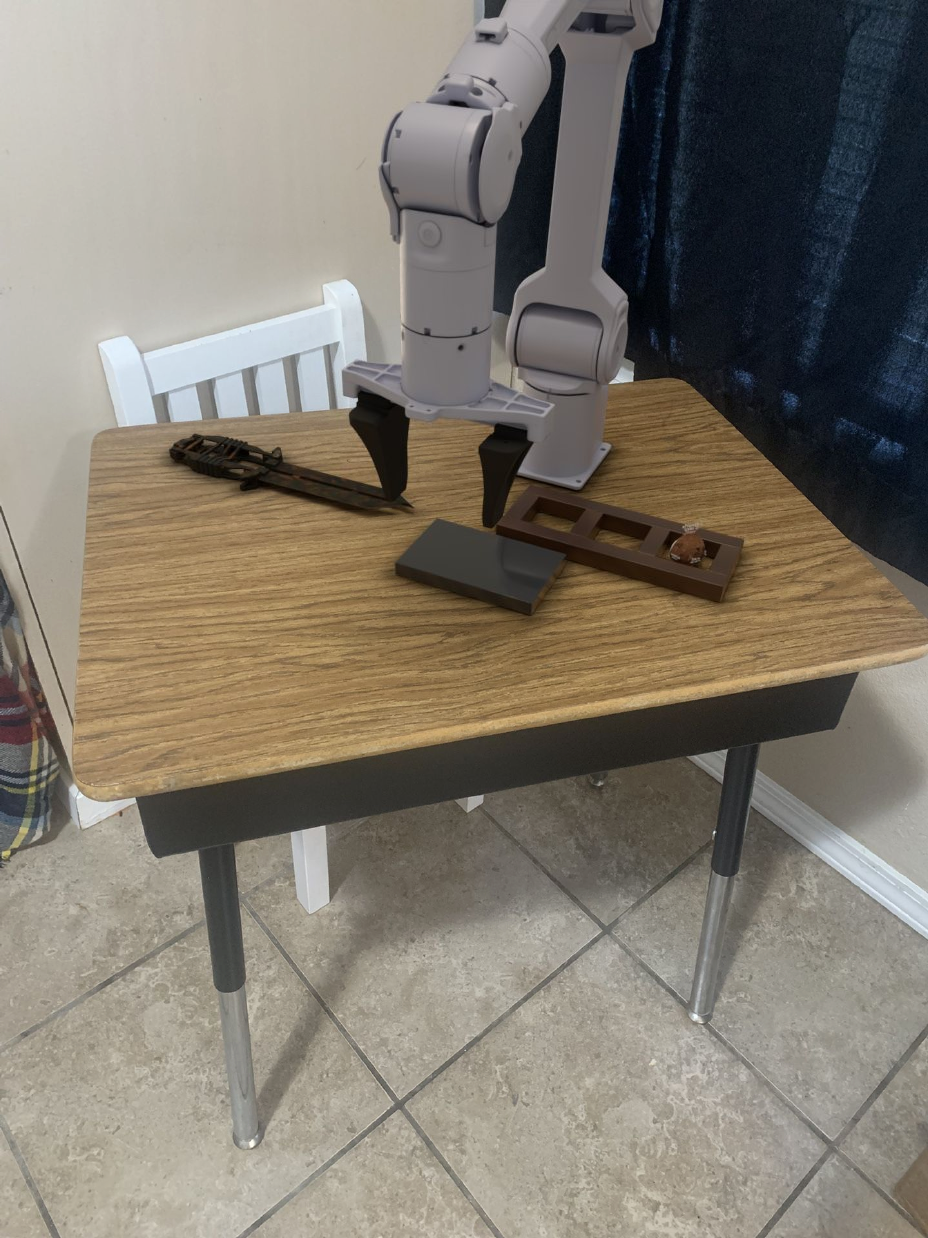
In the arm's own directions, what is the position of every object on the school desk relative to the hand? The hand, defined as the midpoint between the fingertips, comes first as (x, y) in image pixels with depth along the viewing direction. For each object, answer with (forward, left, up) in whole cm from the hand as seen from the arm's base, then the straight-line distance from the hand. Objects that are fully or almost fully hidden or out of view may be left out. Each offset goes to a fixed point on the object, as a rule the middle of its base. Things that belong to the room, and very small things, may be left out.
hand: (443, 507), depth 69 cm
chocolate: (-16, +15, -10) cm, 24 cm away
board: (-7, 0, -10) cm, 12 cm away
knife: (-12, -21, -10) cm, 27 cm away
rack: (-16, +9, -10) cm, 21 cm away
